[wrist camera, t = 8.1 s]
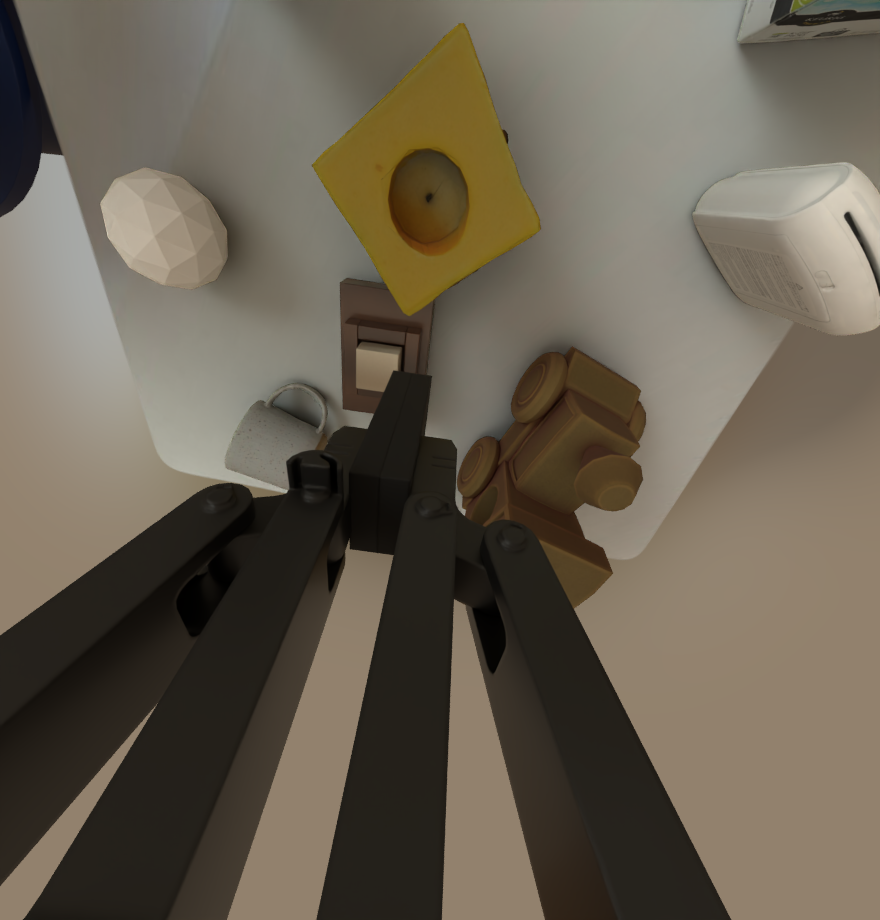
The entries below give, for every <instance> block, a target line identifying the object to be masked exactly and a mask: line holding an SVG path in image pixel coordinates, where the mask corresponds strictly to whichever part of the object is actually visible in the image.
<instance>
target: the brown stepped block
mask: <svg viewBox="0 0 880 920" xmlns="http://www.w3.org/2000/svg"><path fill="white" fill-rule="evenodd" d="M434 305H435V299H434V300H433V301H431V302H430V303H429V304H427V305H426V306H425V307H424V308H422V309H421V310H419V311H417V312H416V313H414V314H412V315H411V316H408V315H406V314H404V313H403V312H402V310H401V308H400V307H399V305H398V304H397V302H396V300H395V299H394V297H393V295H392V294H391V292H390V290H389V289H388V287H387V285H386V284H383V283H376V282H370V281H363V280H356V279H350V278H346V279H345V280H343V281H342V282H340V307H341V351H342V394H343V409H345V410H352V411H359V412H366V413H373V414H374V413H375V411H376V409H377V406H378V404H379V402H380V400H381V397H382V395H383V393H384V392H380V391H373V390H366V389H359V388H356V349H357V347H358V346H359V345H360V343H361V342H362V341H363V342H370V343H376V344H383V345H390V346H397V347H402V360H401V372H408V373H415V374H422V375H427V366H428V357H429V349H430V340H431V331H432V322H433V314H434Z"/></svg>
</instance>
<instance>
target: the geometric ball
mask: <svg viewBox="0 0 880 920" xmlns="http://www.w3.org/2000/svg"><path fill="white" fill-rule="evenodd" d="M100 205H101V210H102V214H103V219H104V223H105V227H106V232H107V236H108V239H109V240H110V242H111V243H112V244H113V246H114V247H115V249H116V250H117V251H118V253H119V254H120V255H121V257H122V258H123V260H124V261H125V262H126V264H127V265H128V267H129V268H130V269H132V270H134V271H136V272H138V273H140V274H142V275H144V276H145V277H147V278H149V279H151V280H153V281H155V282H157V283H158V284H161V285H166V286H172V287H178V288H184V289H190V290H193V289H195V288H198V287H200V286H202V285H205V284H207V283H210V282H212V281H215V280H217V278H218V276H219V274H220V272H221V270H222V268H223V266H224V264H225V262H226V261H227V259H228V250H227V230H226V228H225V226H224V225H223V223H222V221H221V219H220V218H219V216H218V214H217V212H216V211H215V209H214V207H213V205H212V204H211V202H210V200H209V199H207V198H206V197H205V196H204V195H203V194H201V193H200V192H199V191H198V190H197V189H195V188H194V187H193V186H192V185H191V184H189V183H188V182H187V181H186V180H185V179H183V178H182V177H180V176H176V175H172V174H169V173H165V172H161V171H157V170H154V169H150V168H146V167H144V168H142V169H139V170H136V171H134V172H131V173H129V174H126V175H123V176H121V177H118V178H116V179H115V180H114V181H113V183H112V185H111V186H110V188H109V190H108V191H107V193H106V195H105V196H104V198H103V199H102V201H101V203H100Z"/></svg>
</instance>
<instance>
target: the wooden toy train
mask: <svg viewBox="0 0 880 920" xmlns="http://www.w3.org/2000/svg"><path fill="white" fill-rule="evenodd" d="M640 392H641V390H640V389H639V388H638V387H637V386H636V385H634V384H633V383H631V382H629V381H628V380H626V379H625V378H623V377H621V376H620V375H618V374H616V373H615V372H613V371H612V370H610V369H608V368H607V367H605V366H603V365H602V364H600V363H599V362H597V361H595V360H594V359H592V358H590V357H589V356H587V355H586V354H584V353H582V352H581V351H579V350H577V349H576V348H574V347H573V346H572V347H571V348H570V350H569V351H568V352H567V354H566V355H565V356H563V355H562V354H560V353H558V352H550V353H546V354H543V355H542V356H540V357H539V358H537V359H536V360H535V361H534V362H533V363H532V364H531V366H530V367H529V368H528V369H527V371H526V372H525V373H524V375H523V377H522V378H521V380H520V382H519V383H518V385H517V387H516V390H515V392H514V395H513V398H512V402H511V411H512V414H513V416H514V418H515V419H516V420H515V422H514V423H513V424H512V426H511V427H510V428H509V430H508V431H507V432H506V434H505V435H504V436H503V437H502V439H501V440H500V441H499V443H498V441H497V440H496V439H495V438H494V437H484V438H481V439H479V440H478V441H477V442H475V444H474V445H473V446H472V447H471V449H470V450H469V452H468V453H467V455H466V457H465V459H464V461H463V463H462V465H461V468H460V470H459V474H458V478H457V487H458V490H459V492H460V493H461V494H462V495H463V502H462V508H463V509H465V510H466V513H465V517H467V518H468V519H469V520H471V521H473V522H475V523H478V524H480V525H483V526H485V527H487V526H488V525H489V524H491V523H492V522H494V521H497V520H502V519H504V520H513V521H516V522H519V523H521V524H524V525H525V526H526V527H528V528H529V529H531V530H532V531H533V533H534V534H535V535H536V536H537V538H538V540H539V542H540V543H541V545H542V547H543V549H544V551H545V553H546V555H547V557H548V559H549V561H550V563H551V565H552V567H553V569H554V571H555V573H556V575H557V577H558V579H559V581H560V583H561V585H562V587H563V589H564V591H565V593H566V595H567V597H568V599H569V601H570V603H571V605H572V607H573V609H574V608H575V607H577V606H578V605H580V604H581V603H582V602H584V601H585V600H586V599H588V598H589V597H590V596H592V595H593V594H594V593H595V592H596V591H597V590H598V589H599V588H600V587H601V586H602V584H604V583H605V581H606V580H607V579H608V578H609V577H610V576H611V575H612V574H613V572H612V569H611V567H610V564H609V562H608V559H607V557H606V554H605V551H604V549H603V548H602V547H600V546H598V545H596V544H594V543H593V542H591V541H589V540H587V539H585V537H584V534H583V531H582V529H581V526H580V524H579V522H578V519H577V517H576V515H575V513H574V511H575V510H576V509H578V508H579V507H580V506H581V505H582V504H584V503H587V504H588V505H591V506H594V507H597V508H600V509H603V510H606V511H619V510H623V509H625V508H626V507H628V506H629V505H631V504H632V502H633V500H634V498H635V496H636V494H637V492H638V490H639V487H640V485H641V483H642V481H643V477H642V470H641V466H640V465H639V464H637V463H636V462H635V461H634V460H632V459H631V458H630V457H631V456H632V455H633V454H634V453H635V452H636V451H637V449H638V448H639V447H640V445H639V443H638V441H639V440H640V438H641V436H642V434H643V431H644V428H645V425H646V413H645V410H644V408H643V406H642V404H641V402H640V401H638V398H639V395H640ZM463 604H464V603H463ZM465 605H466V604H465Z"/></svg>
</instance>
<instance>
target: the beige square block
mask: <svg viewBox="0 0 880 920" xmlns="http://www.w3.org/2000/svg"><path fill="white" fill-rule="evenodd" d="M401 360H402V347H397V346H390V345H383V344H376V343H370V342H363V341H362V342H361V343H360V345H359V346H358V347H357V349H356V388H359V389H366V390H373V391H380V392H384V390H385V388H386V386H387V384H388V381H389V379H390V377H391V374H392V372H393V370H395V371H401Z"/></svg>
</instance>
